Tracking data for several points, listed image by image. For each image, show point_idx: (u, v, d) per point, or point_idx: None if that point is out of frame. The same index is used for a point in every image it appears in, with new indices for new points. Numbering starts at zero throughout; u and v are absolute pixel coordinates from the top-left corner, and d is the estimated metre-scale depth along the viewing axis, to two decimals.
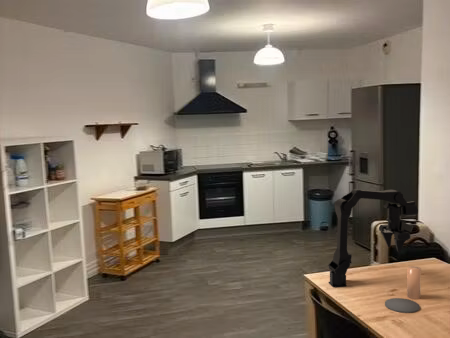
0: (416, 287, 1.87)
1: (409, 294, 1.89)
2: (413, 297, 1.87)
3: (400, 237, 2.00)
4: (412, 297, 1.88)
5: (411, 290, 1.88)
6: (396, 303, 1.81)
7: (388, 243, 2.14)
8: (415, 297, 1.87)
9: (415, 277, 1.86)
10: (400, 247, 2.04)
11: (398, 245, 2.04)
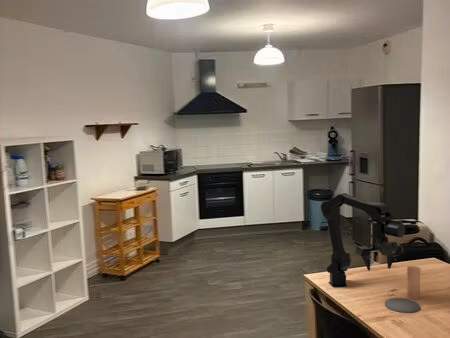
0: (416, 287, 1.87)
1: (409, 294, 1.89)
2: (413, 297, 1.87)
3: (356, 250, 1.89)
4: (412, 297, 1.88)
5: (411, 290, 1.88)
6: (396, 303, 1.81)
7: (388, 264, 1.90)
8: (415, 297, 1.87)
9: (415, 277, 1.86)
10: (367, 265, 1.88)
11: (364, 261, 1.89)
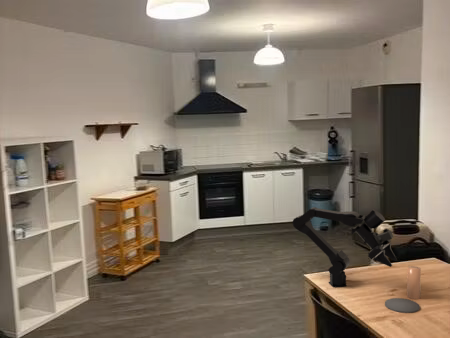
0: (416, 287, 1.87)
1: (409, 294, 1.89)
2: (413, 297, 1.87)
3: (371, 256, 1.88)
4: (412, 297, 1.88)
5: (411, 290, 1.88)
6: (396, 303, 1.81)
7: (392, 257, 1.97)
8: (415, 297, 1.87)
9: (415, 277, 1.86)
10: (387, 262, 1.89)
11: (382, 261, 1.89)
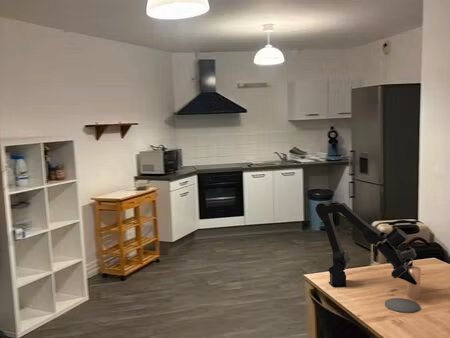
0: (416, 287, 1.87)
1: (409, 294, 1.89)
2: (413, 297, 1.87)
3: (394, 276, 1.84)
4: (412, 297, 1.88)
5: (411, 290, 1.88)
6: (396, 303, 1.81)
7: None
8: (415, 297, 1.87)
9: (415, 277, 1.86)
10: (412, 280, 1.86)
11: (407, 279, 1.87)
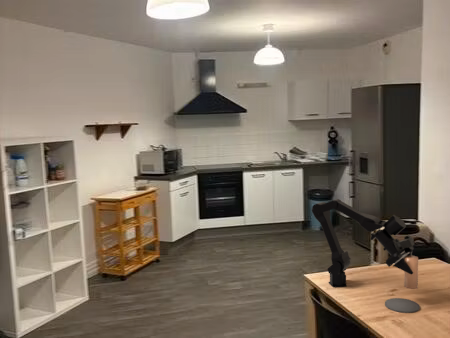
0: (413, 277, 1.83)
1: (406, 284, 1.85)
2: (409, 287, 1.83)
3: (388, 264, 1.81)
4: (408, 287, 1.84)
5: (408, 280, 1.84)
6: (396, 303, 1.81)
7: None
8: (411, 287, 1.83)
9: (411, 266, 1.82)
10: (408, 269, 1.82)
11: (403, 268, 1.83)
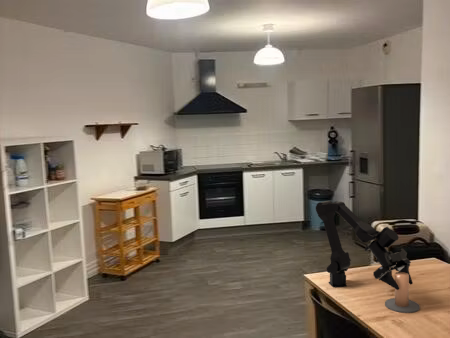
0: (402, 294, 1.78)
1: (395, 300, 1.80)
2: (398, 304, 1.79)
3: (375, 276, 1.79)
4: (397, 304, 1.79)
5: (397, 297, 1.79)
6: None
7: None
8: (400, 304, 1.78)
9: (400, 283, 1.77)
10: (394, 284, 1.76)
11: (389, 283, 1.78)
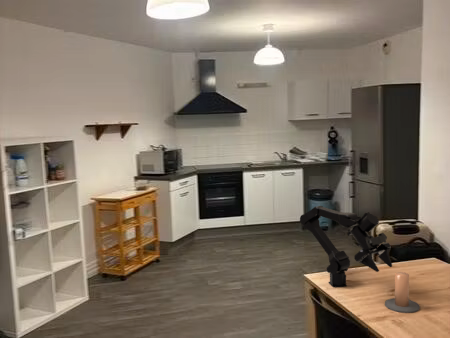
0: (402, 294, 1.78)
1: (395, 300, 1.80)
2: (398, 304, 1.79)
3: (356, 259, 1.86)
4: (397, 304, 1.79)
5: (397, 297, 1.79)
6: None
7: (388, 263, 1.89)
8: (400, 304, 1.78)
9: (400, 283, 1.78)
10: (374, 266, 1.83)
11: (369, 265, 1.85)
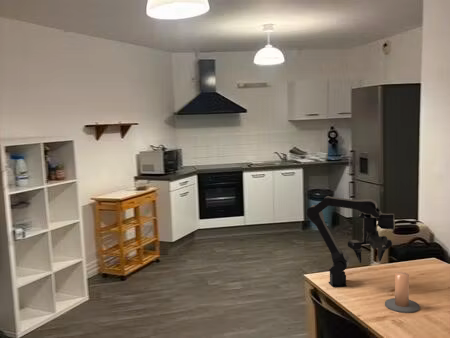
0: (402, 294, 1.78)
1: (395, 300, 1.80)
2: (398, 304, 1.79)
3: (348, 244, 2.00)
4: (397, 304, 1.79)
5: (397, 297, 1.79)
6: None
7: (378, 257, 2.01)
8: (400, 304, 1.78)
9: (400, 283, 1.78)
10: (358, 258, 1.99)
11: (356, 254, 2.00)
